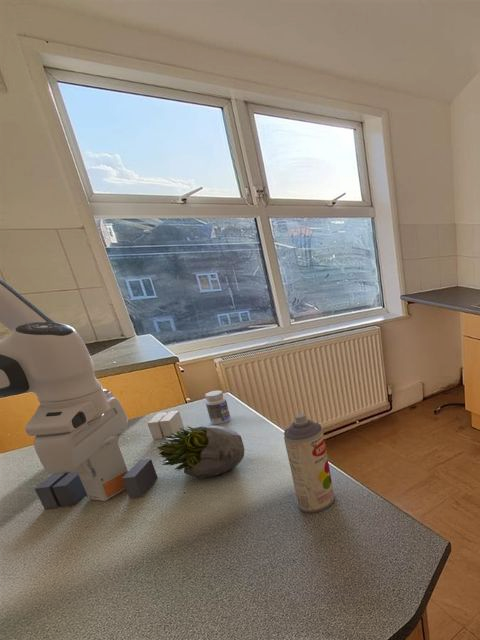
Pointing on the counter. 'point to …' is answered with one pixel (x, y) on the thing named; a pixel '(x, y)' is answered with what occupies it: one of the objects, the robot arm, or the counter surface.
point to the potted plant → (203, 450)
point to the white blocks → (165, 424)
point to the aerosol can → (309, 465)
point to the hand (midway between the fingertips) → (101, 467)
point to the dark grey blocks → (70, 489)
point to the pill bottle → (217, 407)
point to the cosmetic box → (106, 471)
